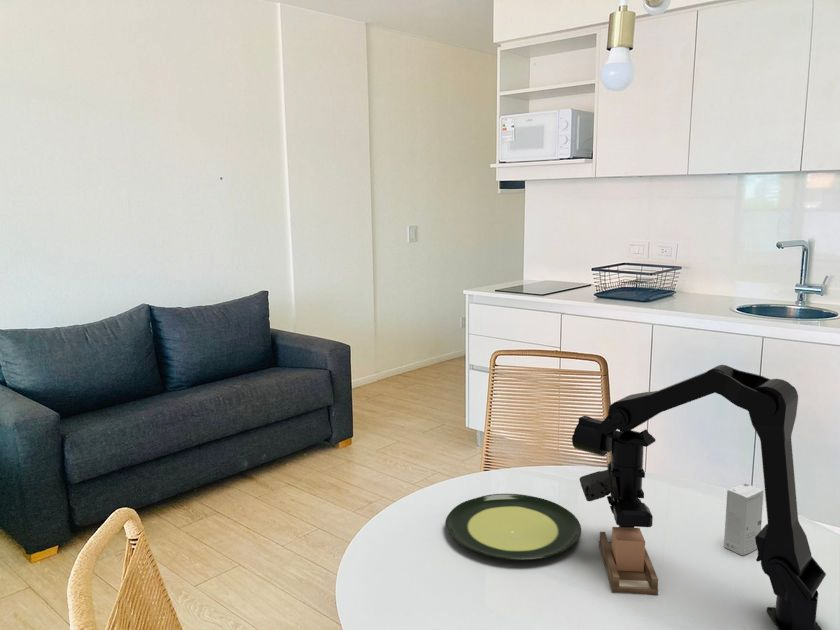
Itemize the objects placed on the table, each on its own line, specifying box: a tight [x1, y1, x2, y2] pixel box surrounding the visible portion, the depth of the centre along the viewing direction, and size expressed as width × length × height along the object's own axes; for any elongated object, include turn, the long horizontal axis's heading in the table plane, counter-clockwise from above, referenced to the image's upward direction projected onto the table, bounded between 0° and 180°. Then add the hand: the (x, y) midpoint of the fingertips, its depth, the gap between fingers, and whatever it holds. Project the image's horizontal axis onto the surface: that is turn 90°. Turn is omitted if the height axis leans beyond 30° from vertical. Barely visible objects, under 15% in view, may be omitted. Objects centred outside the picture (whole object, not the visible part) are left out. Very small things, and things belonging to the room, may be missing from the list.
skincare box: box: [723, 483, 764, 556], centre depth 130 cm, size 6×4×12 cm
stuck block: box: [611, 526, 646, 572], centre depth 123 cm, size 5×5×6 cm
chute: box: [598, 531, 659, 596], centre depth 123 cm, size 16×8×3 cm, turn 173°
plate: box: [444, 493, 582, 561], centre depth 138 cm, size 28×28×2 cm
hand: (624, 538), depth 127 cm, fingers closed
